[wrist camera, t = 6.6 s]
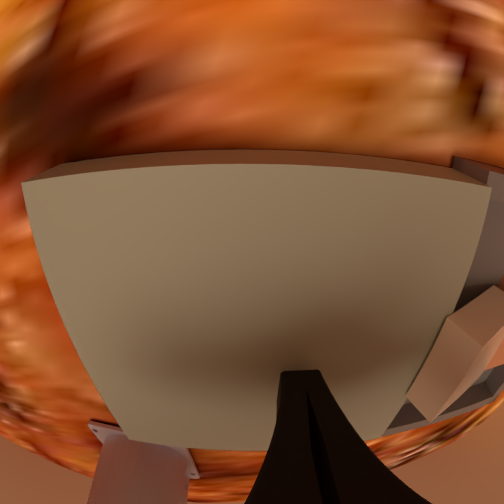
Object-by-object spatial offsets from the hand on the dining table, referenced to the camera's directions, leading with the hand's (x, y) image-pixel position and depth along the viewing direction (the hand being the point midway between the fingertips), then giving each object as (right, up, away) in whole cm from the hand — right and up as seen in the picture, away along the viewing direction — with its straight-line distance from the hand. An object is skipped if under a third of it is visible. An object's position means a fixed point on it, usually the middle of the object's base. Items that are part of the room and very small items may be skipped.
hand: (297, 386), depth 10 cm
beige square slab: (-1, +2, +3) cm, 3 cm away
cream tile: (+8, +1, +1) cm, 8 cm away
